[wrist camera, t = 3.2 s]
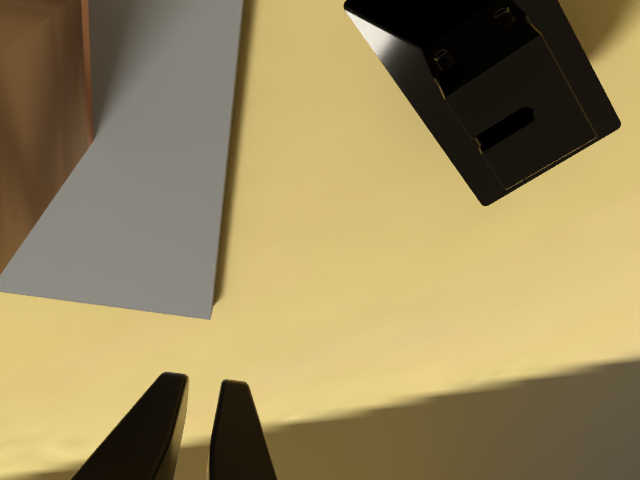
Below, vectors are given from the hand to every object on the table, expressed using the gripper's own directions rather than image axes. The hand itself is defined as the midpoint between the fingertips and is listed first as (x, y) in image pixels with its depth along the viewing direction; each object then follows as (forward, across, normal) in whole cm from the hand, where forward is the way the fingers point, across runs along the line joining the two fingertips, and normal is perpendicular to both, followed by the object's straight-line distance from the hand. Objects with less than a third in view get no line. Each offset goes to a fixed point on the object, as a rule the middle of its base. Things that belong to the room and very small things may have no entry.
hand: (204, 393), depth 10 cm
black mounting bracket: (+14, -7, -2) cm, 16 cm away
